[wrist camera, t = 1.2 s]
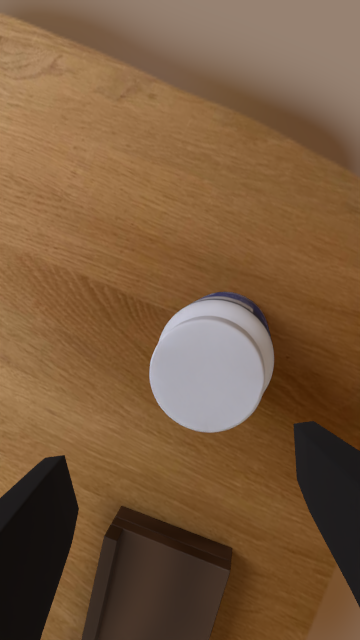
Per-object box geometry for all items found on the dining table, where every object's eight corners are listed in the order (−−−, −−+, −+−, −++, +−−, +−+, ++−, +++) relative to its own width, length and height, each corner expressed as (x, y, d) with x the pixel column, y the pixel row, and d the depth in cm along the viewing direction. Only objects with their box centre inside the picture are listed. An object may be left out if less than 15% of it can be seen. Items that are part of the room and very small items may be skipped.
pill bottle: (261, 380, 23) (264, 461, 13) (179, 365, 24) (128, 429, 15) (276, 296, 22) (291, 319, 12) (190, 284, 23) (142, 296, 14)
